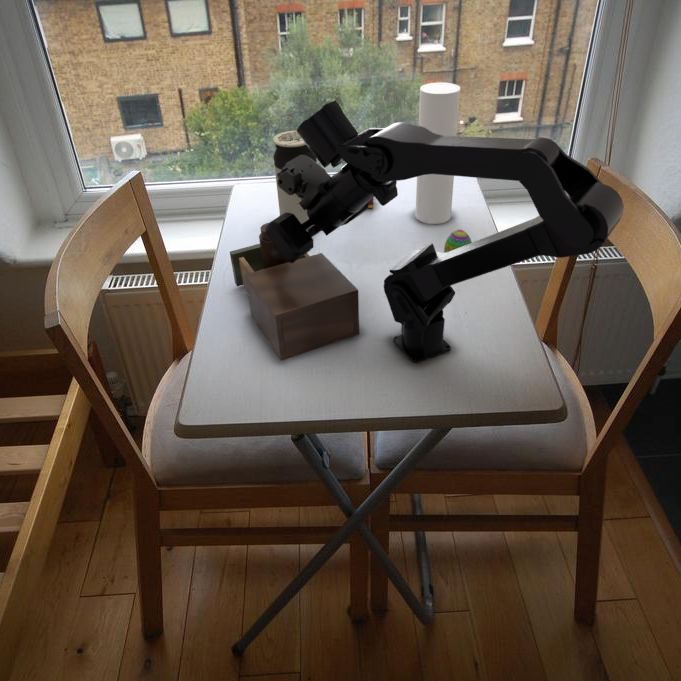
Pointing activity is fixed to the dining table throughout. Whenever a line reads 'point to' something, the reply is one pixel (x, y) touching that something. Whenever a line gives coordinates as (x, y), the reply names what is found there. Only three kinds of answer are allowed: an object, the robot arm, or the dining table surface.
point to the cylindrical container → (440, 119)
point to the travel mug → (286, 150)
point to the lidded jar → (268, 250)
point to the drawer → (247, 263)
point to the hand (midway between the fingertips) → (291, 242)
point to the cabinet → (303, 305)
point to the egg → (456, 240)
